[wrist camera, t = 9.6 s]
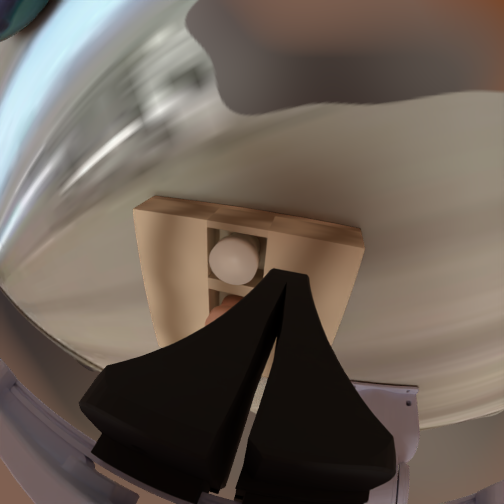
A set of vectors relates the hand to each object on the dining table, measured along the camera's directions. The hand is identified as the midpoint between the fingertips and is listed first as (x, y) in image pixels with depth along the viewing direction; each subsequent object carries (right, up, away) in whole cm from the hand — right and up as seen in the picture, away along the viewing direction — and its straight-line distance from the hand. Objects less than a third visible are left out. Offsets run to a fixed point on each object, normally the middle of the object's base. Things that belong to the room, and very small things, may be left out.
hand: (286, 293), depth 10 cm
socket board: (-2, -2, +13) cm, 14 cm away
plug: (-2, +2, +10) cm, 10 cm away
